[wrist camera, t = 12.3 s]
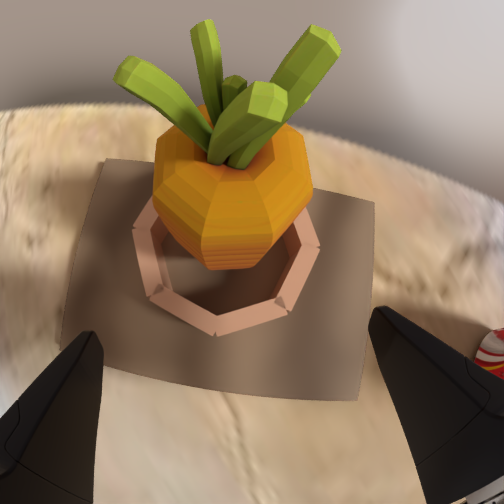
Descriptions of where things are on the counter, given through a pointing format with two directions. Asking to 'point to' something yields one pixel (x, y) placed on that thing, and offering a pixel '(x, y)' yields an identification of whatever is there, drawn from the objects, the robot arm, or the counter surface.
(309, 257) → the octagonal ring
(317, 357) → the walnut board
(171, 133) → the carrot
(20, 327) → the counter surface
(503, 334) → the soda can
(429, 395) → the robot arm
